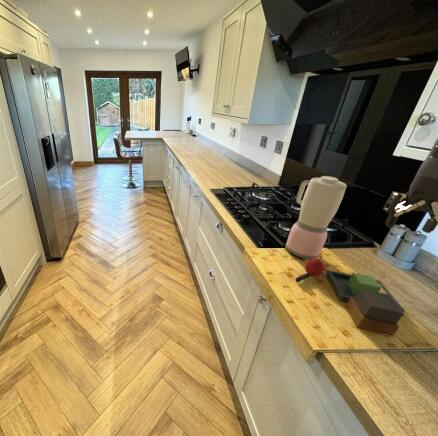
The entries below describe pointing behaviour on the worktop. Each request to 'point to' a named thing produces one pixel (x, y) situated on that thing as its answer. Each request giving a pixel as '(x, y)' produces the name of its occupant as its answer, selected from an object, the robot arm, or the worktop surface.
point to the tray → (342, 289)
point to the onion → (315, 267)
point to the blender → (314, 216)
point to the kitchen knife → (303, 277)
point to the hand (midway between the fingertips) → (407, 229)
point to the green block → (362, 283)
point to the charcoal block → (378, 306)
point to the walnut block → (369, 320)
